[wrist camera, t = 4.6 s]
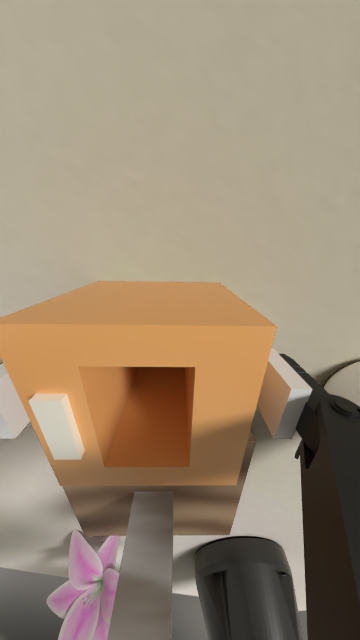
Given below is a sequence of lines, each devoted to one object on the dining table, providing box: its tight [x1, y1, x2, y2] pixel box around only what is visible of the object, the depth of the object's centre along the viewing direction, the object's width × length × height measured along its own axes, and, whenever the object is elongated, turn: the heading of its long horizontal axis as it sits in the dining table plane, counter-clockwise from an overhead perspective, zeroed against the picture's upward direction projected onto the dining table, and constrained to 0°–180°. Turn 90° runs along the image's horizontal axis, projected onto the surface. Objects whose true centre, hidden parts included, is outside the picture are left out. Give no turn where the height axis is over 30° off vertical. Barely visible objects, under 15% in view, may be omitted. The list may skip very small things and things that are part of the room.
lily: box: [47, 530, 119, 640], centre depth 23 cm, size 12×12×10 cm
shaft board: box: [63, 430, 256, 640], centre depth 14 cm, size 18×18×12 cm
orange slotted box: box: [0, 281, 277, 486], centre depth 9 cm, size 8×8×7 cm
